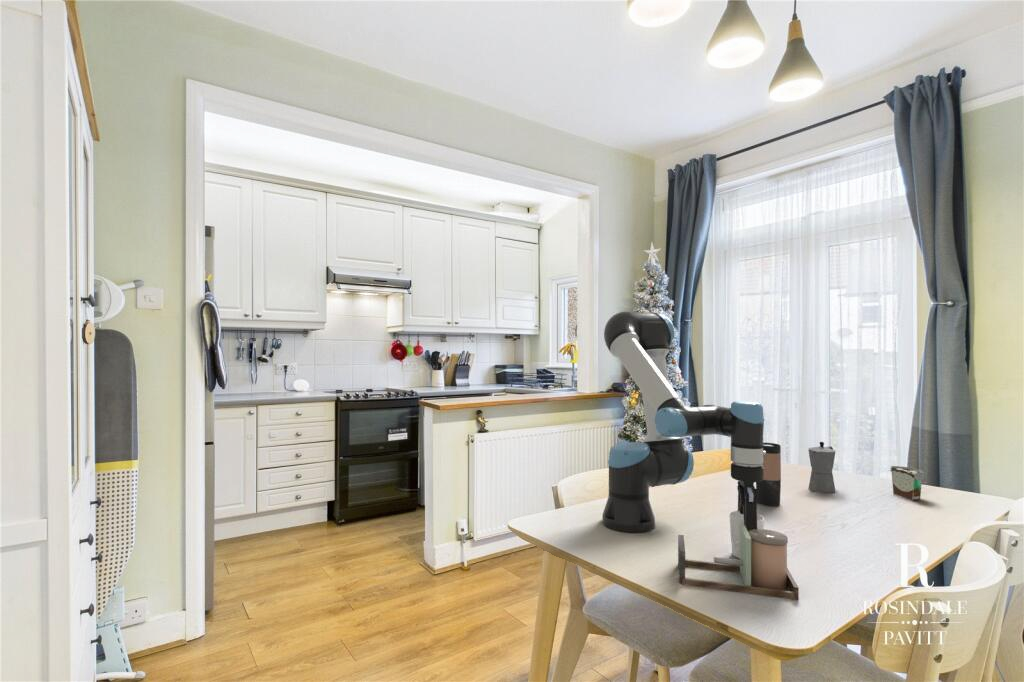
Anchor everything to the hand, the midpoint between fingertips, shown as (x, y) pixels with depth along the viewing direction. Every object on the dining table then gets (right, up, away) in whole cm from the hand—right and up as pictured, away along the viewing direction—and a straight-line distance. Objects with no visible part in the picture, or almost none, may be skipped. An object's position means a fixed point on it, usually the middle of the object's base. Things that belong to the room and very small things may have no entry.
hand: (746, 555), depth 129 cm
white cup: (0, 0, 0) cm, 0 cm away
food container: (+84, -3, +55) cm, 101 cm away
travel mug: (+28, -2, +46) cm, 54 cm away
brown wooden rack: (-9, 0, -14) cm, 17 cm away
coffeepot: (+58, -3, +65) cm, 87 cm away
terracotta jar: (-3, 0, -16) cm, 16 cm away
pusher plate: (-9, 0, -14) cm, 17 cm away
